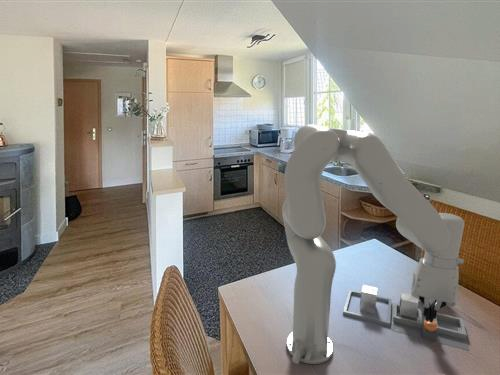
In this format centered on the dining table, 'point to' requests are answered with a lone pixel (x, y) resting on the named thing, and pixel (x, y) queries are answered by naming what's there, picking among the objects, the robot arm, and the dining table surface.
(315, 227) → the robot arm
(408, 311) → the block
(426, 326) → the button
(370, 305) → the block
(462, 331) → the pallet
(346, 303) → the tray
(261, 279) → the dining table surface
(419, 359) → the dining table surface
